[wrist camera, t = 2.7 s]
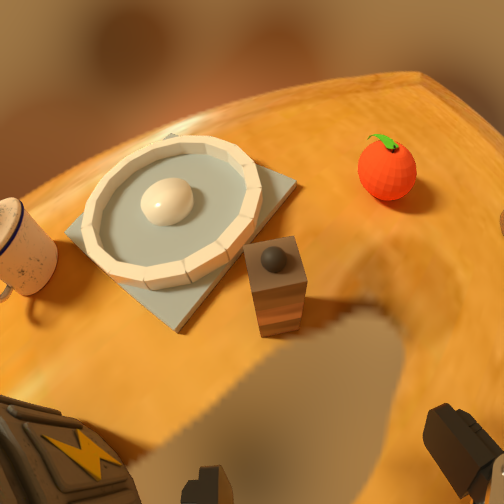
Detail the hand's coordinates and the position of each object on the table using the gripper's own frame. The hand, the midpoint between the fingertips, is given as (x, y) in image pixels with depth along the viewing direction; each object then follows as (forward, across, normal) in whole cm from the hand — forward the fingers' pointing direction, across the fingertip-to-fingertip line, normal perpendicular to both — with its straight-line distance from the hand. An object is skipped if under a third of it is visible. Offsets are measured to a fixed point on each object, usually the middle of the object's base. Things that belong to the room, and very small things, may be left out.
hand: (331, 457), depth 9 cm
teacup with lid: (+25, +30, -5) cm, 39 cm away
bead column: (+18, 0, +2) cm, 18 cm away
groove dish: (+29, +9, -8) cm, 31 cm away
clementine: (+27, -16, -7) cm, 32 cm away
